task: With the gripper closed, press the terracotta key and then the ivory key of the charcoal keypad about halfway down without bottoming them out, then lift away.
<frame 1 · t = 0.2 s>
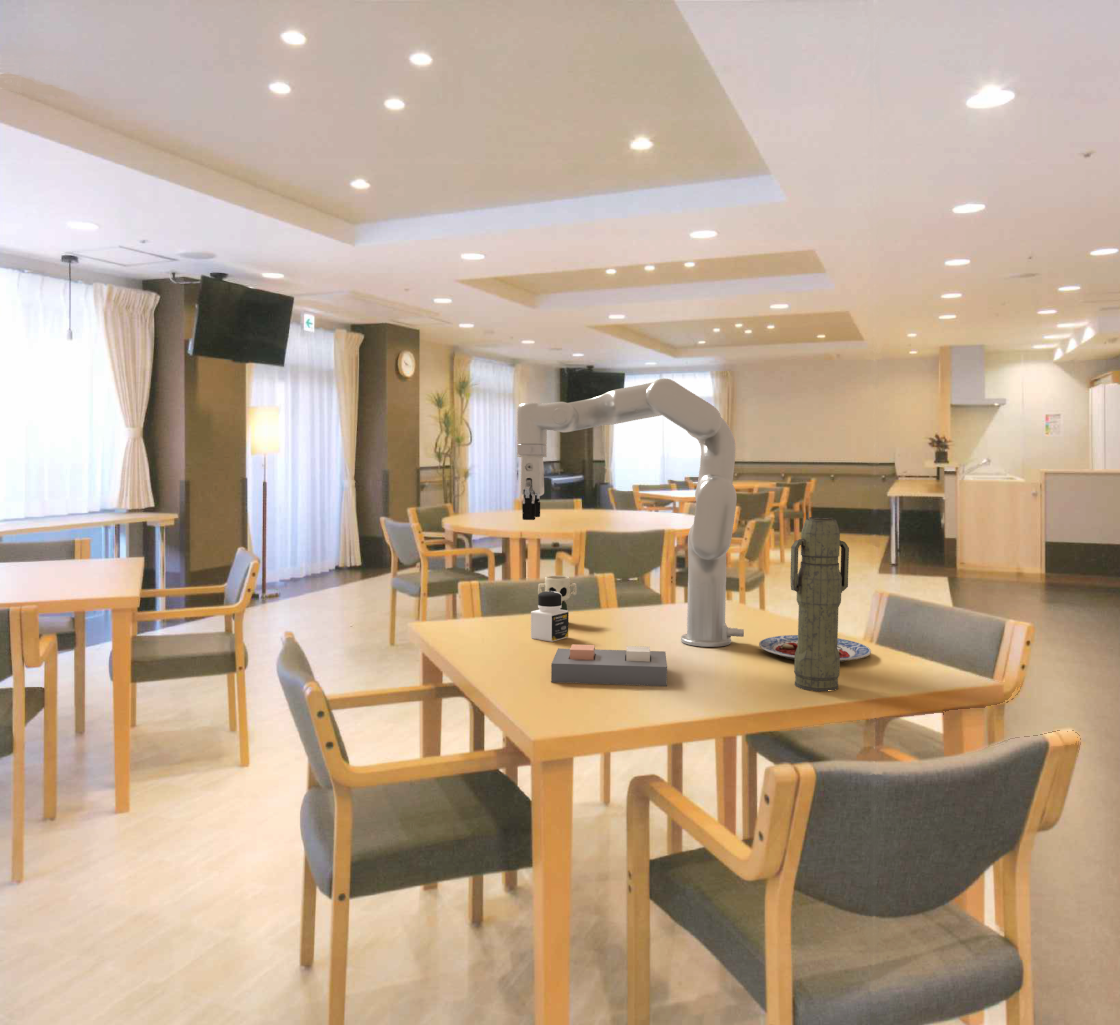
hand: (531, 518, 222), 31 cm above the table, fingers open, 9 cm apart
thermos: (816, 686, 179), on the table
terracotta key: (582, 654, 187), point 4 cm above the table, slide at 0.0 cm
medicine bottle: (549, 638, 224), on the table
ivory key: (638, 655, 185), point 4 cm above the table, slide at 0.0 cm
character mug: (557, 623, 244), on the table
ceramic plate: (813, 656, 208), on the table
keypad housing: (610, 675, 186), on the table
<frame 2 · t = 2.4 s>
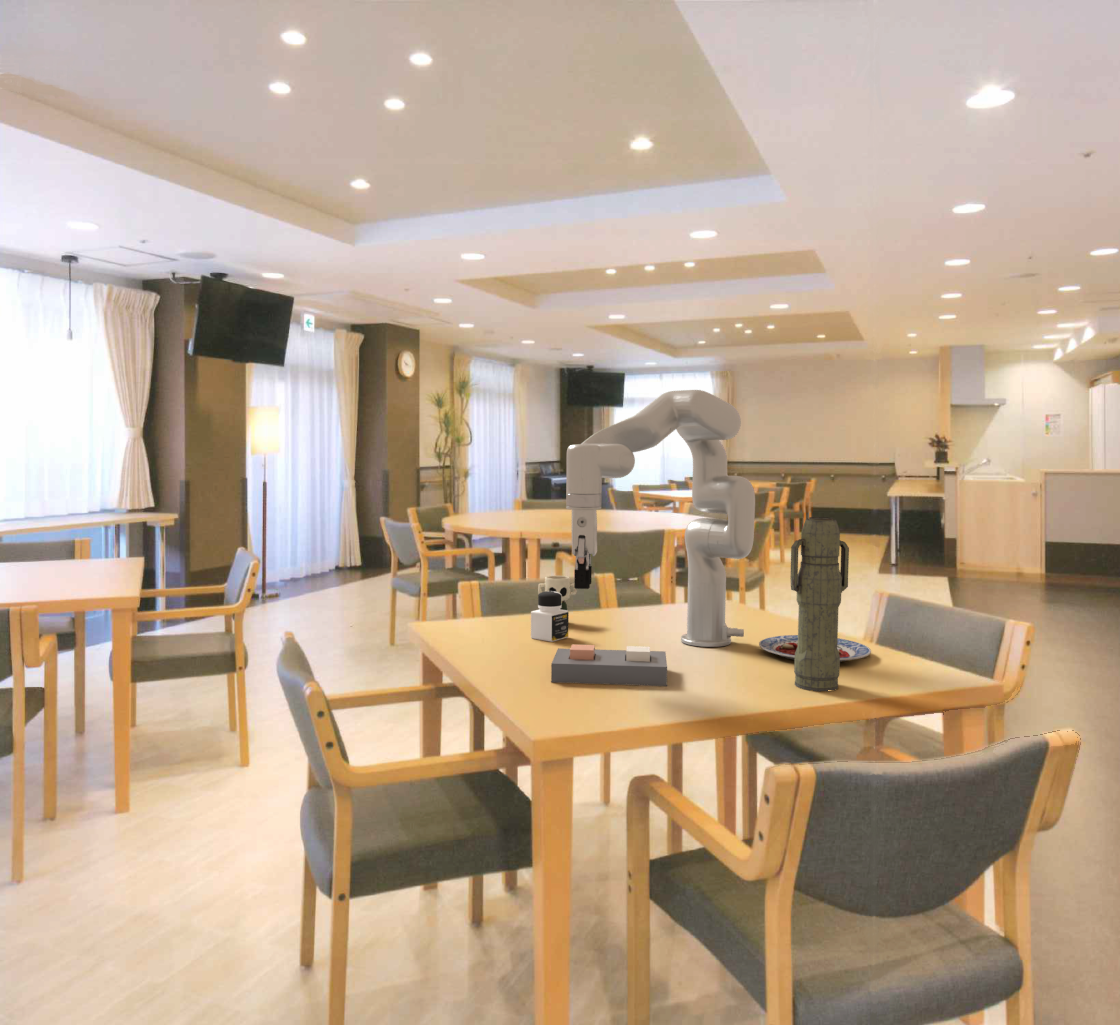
hand: (583, 585, 186), 19 cm above the table, fingers open, 5 cm apart
nothing on the table moved.
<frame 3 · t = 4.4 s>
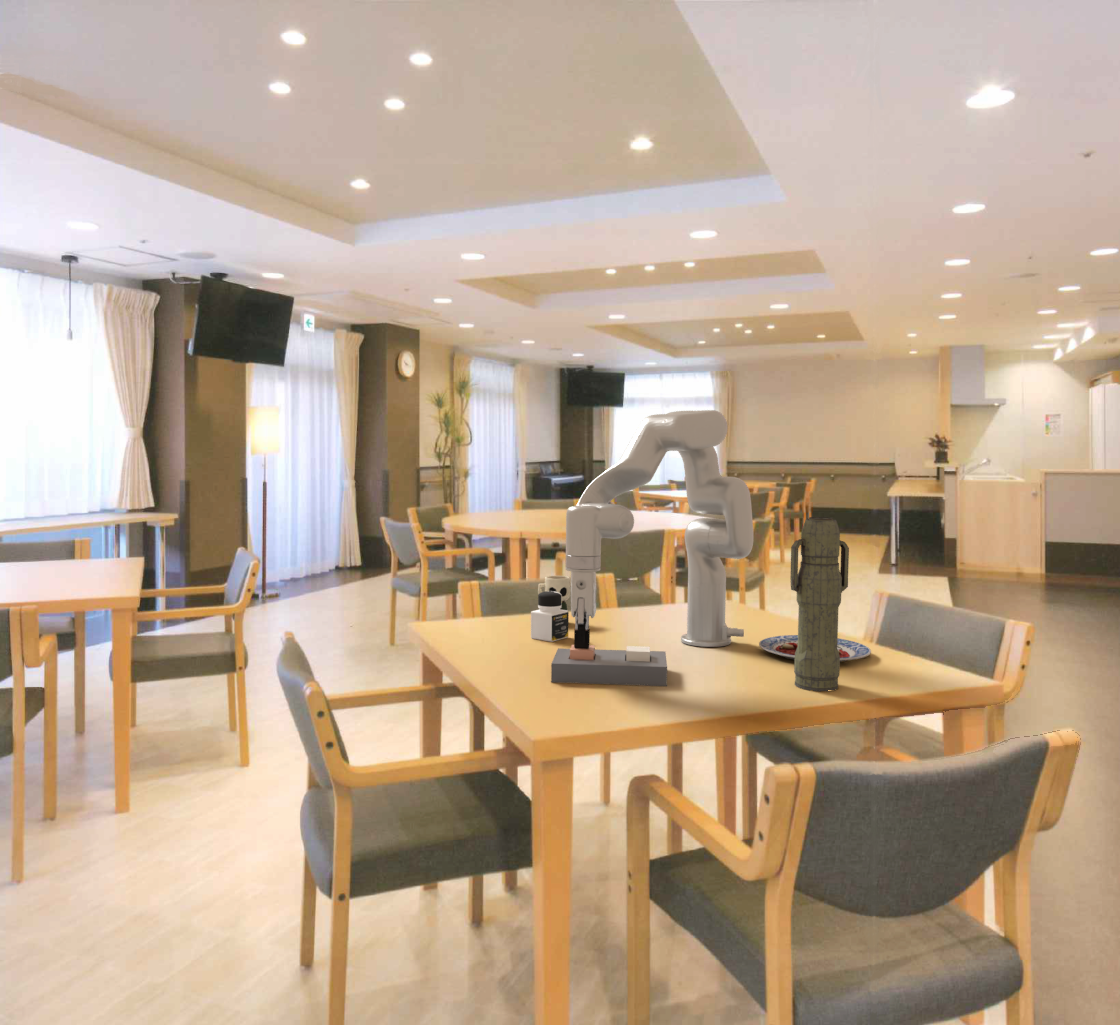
hand: (581, 647, 186), 6 cm above the table, fingers closed
terracotta key: (582, 654, 187), point 4 cm above the table, slide at 0.1 cm, touching gripper
everything else where it was.
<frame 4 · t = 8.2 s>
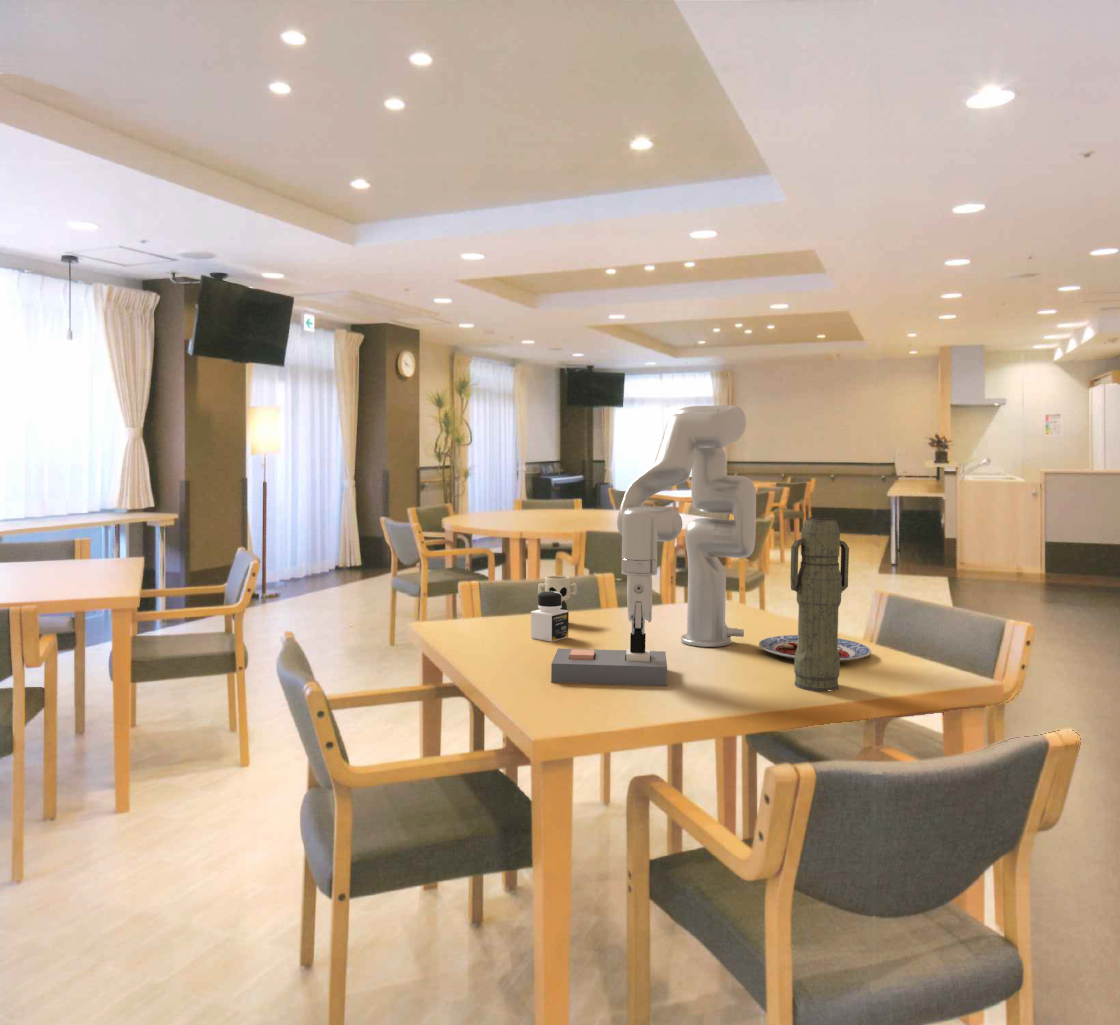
hand: (637, 651, 185), 5 cm above the table, fingers closed
terracotta key: (582, 659, 187), point 3 cm above the table, slide at 1.1 cm
ivory key: (638, 658, 185), point 4 cm above the table, slide at 0.7 cm, touching gripper
everything else where it was.
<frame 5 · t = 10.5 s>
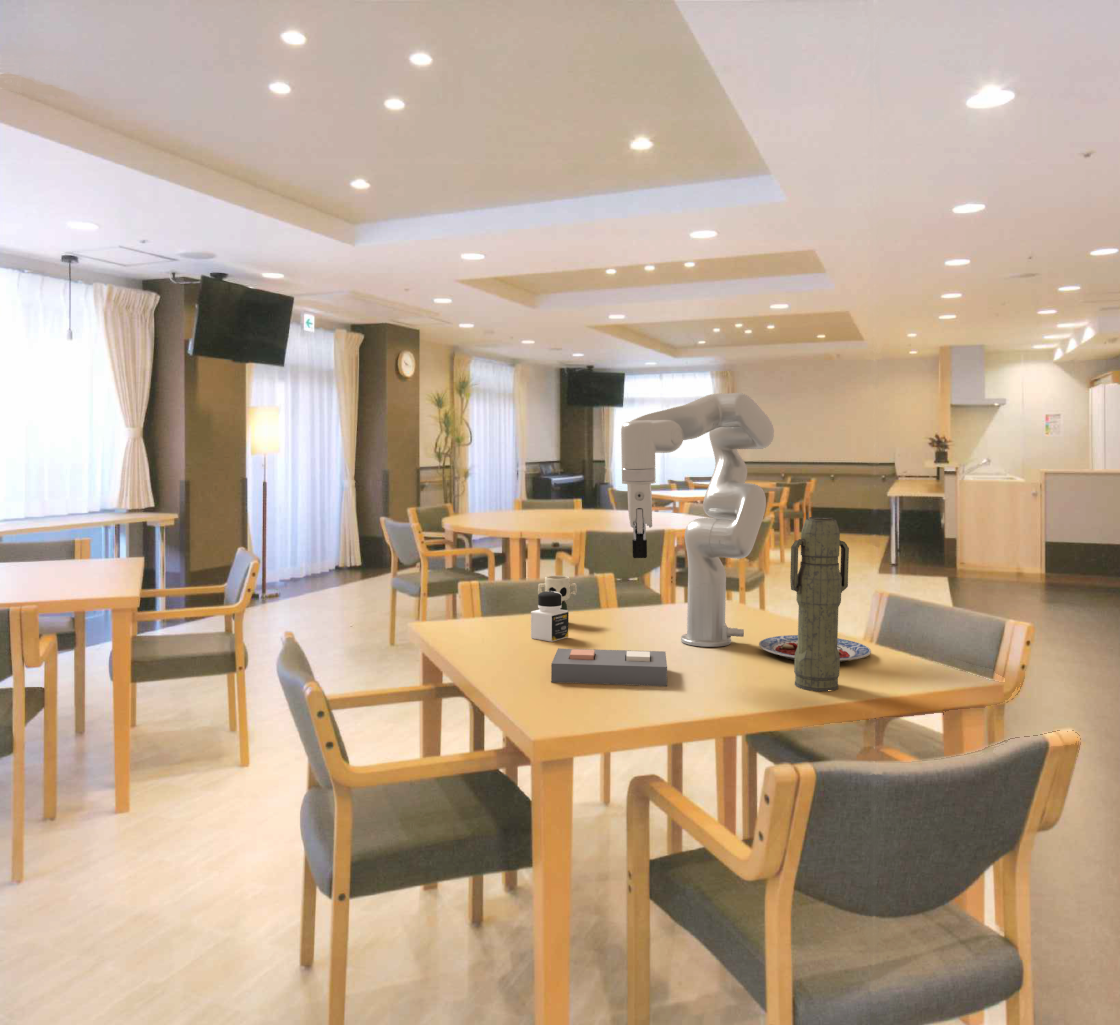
hand: (639, 557, 196), 24 cm above the table, fingers closed
ivory key: (638, 660, 185), point 3 cm above the table, slide at 1.1 cm
everything else where it was.
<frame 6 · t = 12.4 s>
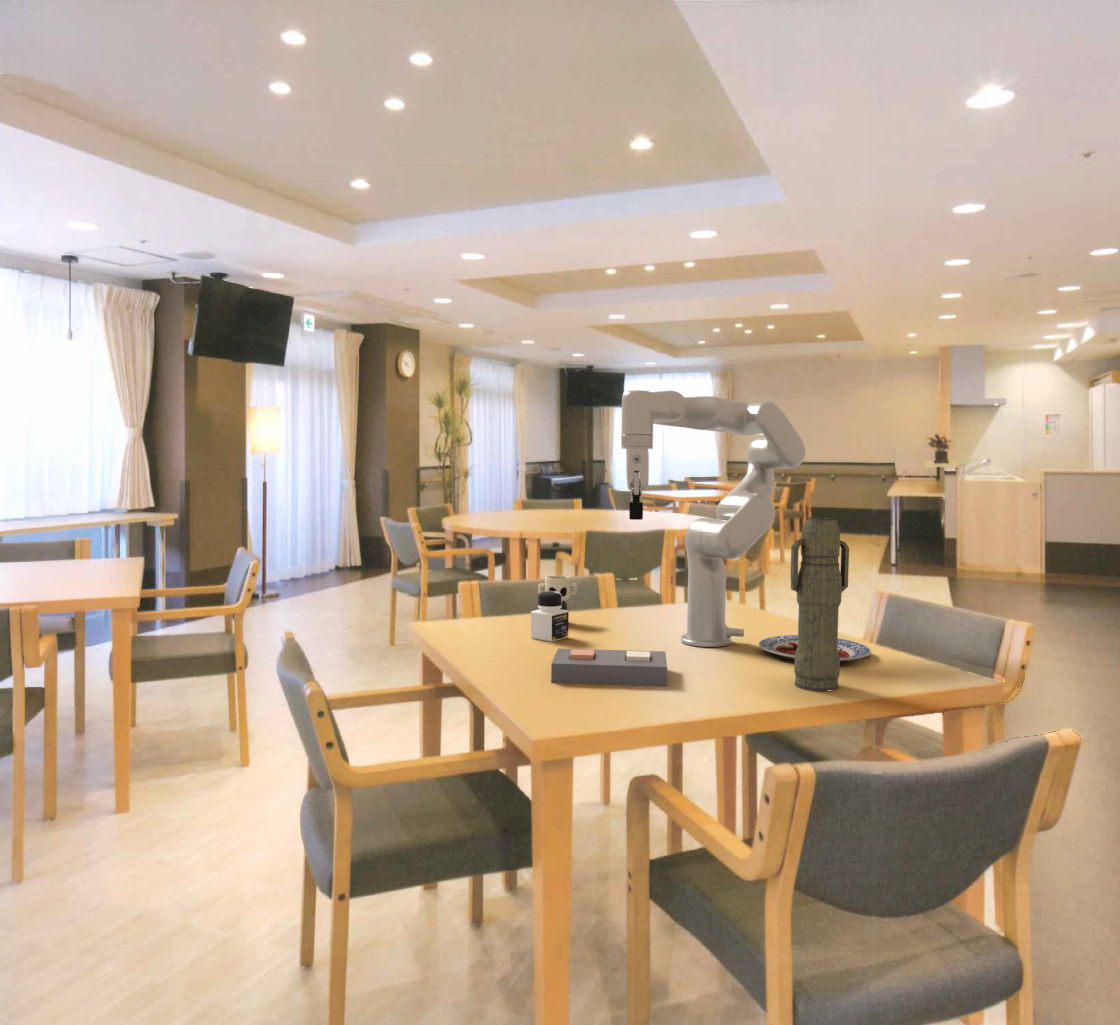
hand: (636, 519, 207), 32 cm above the table, fingers closed
nothing on the table moved.
at the end: terracotta key slide at 1.1 cm; ivory key slide at 1.1 cm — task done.
